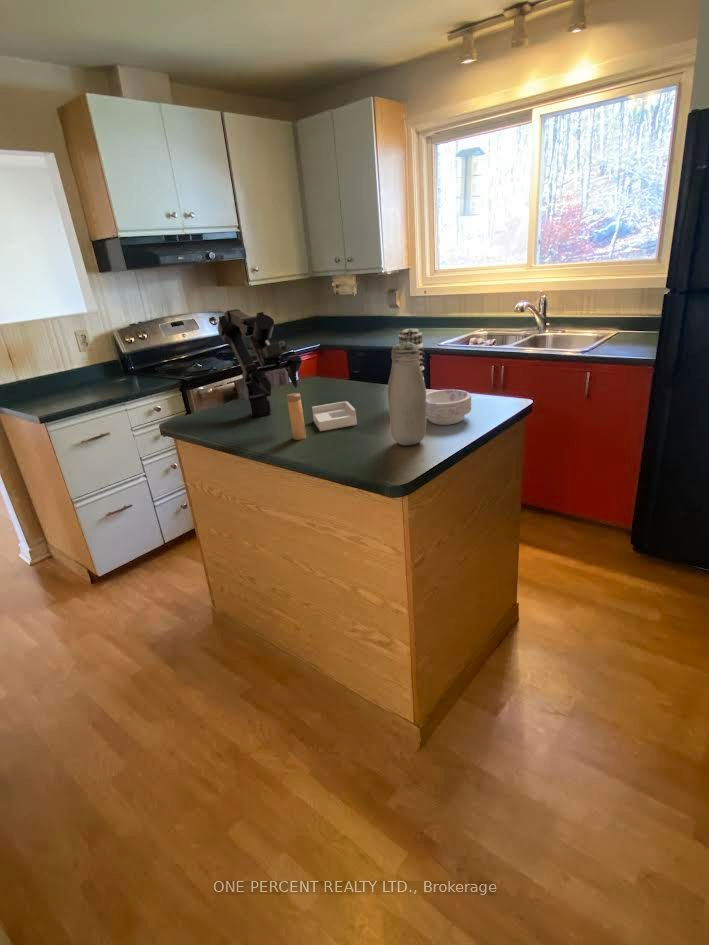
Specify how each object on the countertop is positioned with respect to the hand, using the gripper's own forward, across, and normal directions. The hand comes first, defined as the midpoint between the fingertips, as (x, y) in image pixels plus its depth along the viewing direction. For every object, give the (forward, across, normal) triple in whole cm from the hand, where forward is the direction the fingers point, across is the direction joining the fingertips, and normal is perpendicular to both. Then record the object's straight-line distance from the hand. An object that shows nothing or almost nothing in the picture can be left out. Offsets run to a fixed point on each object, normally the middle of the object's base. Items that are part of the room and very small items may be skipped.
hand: (282, 390), depth 159 cm
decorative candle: (+13, +45, +6) cm, 48 cm away
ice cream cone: (+15, 0, +4) cm, 16 cm away
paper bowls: (+30, +41, -10) cm, 52 cm away
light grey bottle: (+35, +21, -16) cm, 44 cm away
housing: (+12, +15, +7) cm, 20 cm away
